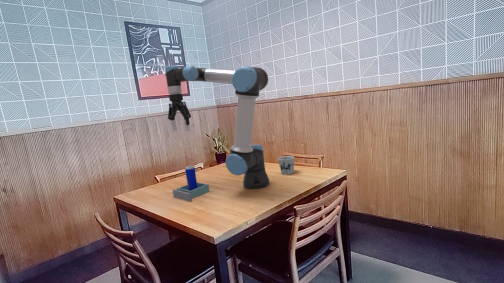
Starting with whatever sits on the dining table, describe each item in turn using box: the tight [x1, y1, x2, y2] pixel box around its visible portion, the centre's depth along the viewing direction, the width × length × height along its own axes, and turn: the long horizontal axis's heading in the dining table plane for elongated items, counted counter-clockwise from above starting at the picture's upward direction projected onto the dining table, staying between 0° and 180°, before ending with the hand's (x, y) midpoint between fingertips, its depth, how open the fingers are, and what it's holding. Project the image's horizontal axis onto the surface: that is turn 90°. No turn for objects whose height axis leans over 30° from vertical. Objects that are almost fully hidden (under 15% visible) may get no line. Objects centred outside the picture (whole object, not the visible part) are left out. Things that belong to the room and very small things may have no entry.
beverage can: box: [184, 165, 198, 191], centre depth 154 cm, size 5×5×15 cm
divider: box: [172, 188, 193, 202], centre depth 148 cm, size 16×1×4 cm, turn 47°
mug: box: [277, 155, 295, 175], centre depth 176 cm, size 10×15×10 cm
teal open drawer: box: [176, 181, 210, 199], centre depth 155 cm, size 13×13×4 cm
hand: (181, 131), depth 161 cm, fingers open, 13 cm apart
